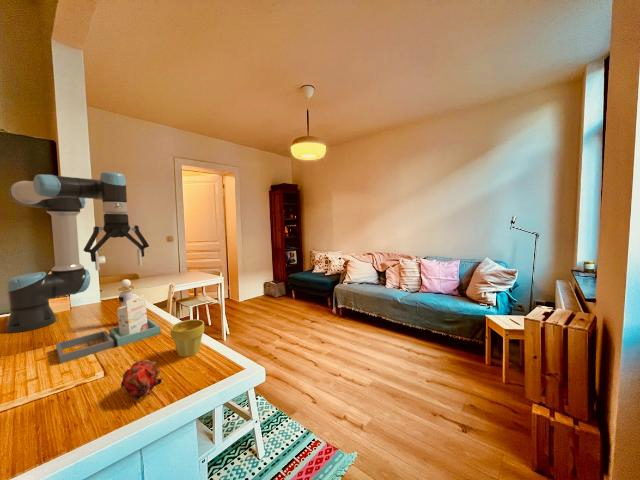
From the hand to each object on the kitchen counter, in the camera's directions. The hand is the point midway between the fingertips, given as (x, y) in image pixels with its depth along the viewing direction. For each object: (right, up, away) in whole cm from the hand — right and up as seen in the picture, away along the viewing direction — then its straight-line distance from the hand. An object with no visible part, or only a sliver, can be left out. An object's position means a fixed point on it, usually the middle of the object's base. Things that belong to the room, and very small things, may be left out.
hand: (119, 267), depth 103 cm
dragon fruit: (+32, -30, -33) cm, 55 cm away
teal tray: (+4, -28, +2) cm, 28 cm away
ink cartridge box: (+4, -27, +2) cm, 27 cm away
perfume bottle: (-8, -27, +16) cm, 32 cm away
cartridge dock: (-6, -29, -8) cm, 30 cm away
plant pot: (+34, -28, -13) cm, 46 cm away
